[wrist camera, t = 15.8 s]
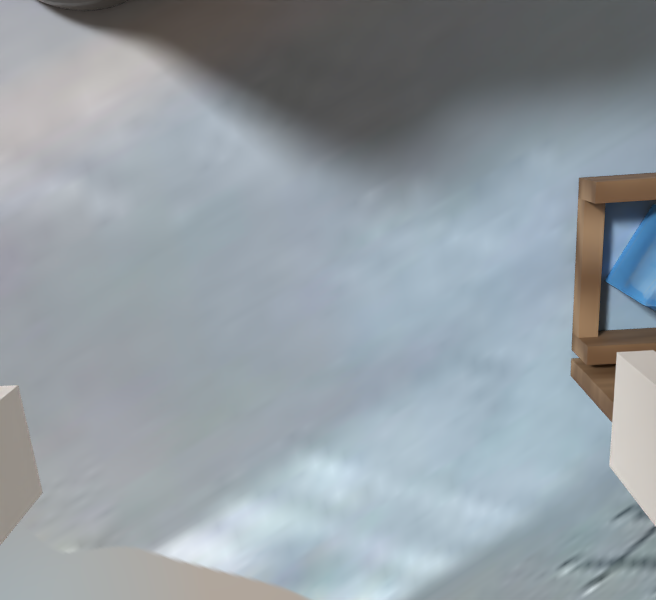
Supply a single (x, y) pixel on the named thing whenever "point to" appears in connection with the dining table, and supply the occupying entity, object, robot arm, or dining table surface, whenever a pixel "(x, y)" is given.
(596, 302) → the wooden l-shaped stand
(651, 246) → the perfume bottle
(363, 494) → the dining table surface
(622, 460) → the robot arm
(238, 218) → the dining table surface
